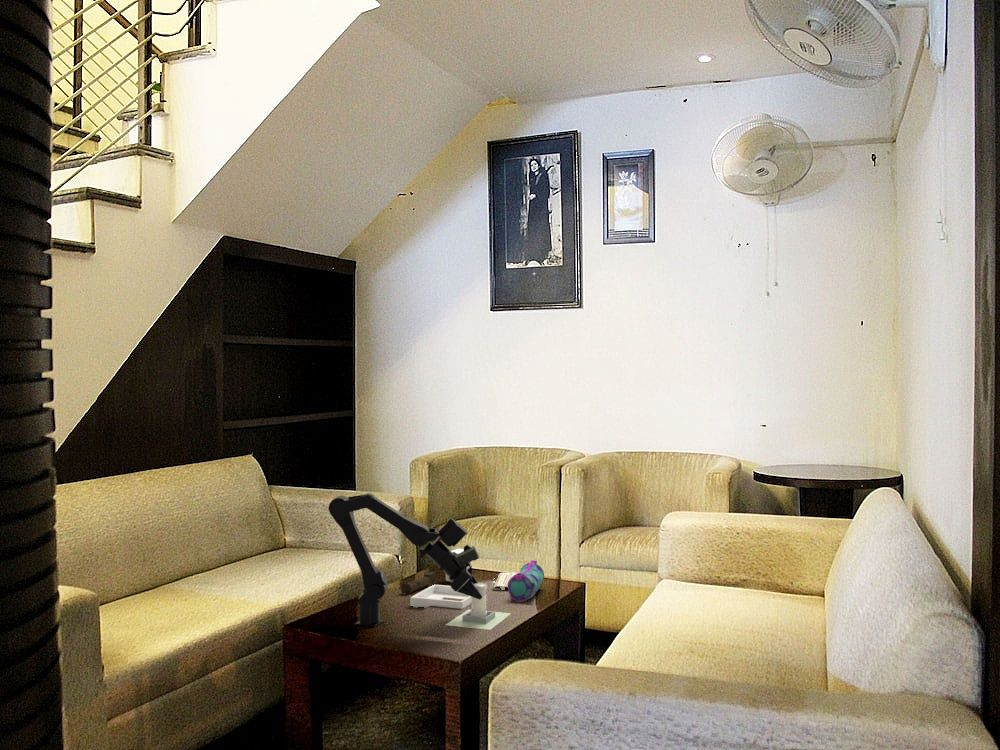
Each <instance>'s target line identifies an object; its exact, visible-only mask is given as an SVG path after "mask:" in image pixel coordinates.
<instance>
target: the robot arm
mask: <svg viewBox="0 0 1000 750" xmlns="http://www.w3.org/2000/svg"><path fill="white" fill-rule="evenodd" d="M365 509H367V510H369V511H370V512H372V513H374V514H375V515H376V516H378V517H379V518H382V519H383V520H385V522H387V523H389V524H390V525H391V526H393V527H395V528H396V529H398V530H399V531H400V532H401V534H403V536H404V537H405V538H406V539H407V540H408V541H409V542H411V543H412V545H414V546H416V547H420V548H419V559H423V558H424V557H425V556H427V557H428V558H429V559H430V560H431V561H433V563H434V564H435V565H437V567H438V570H440V571H441V572H444V573H445V575H446V574H447V575H448V576H449V579H450V580H451V581H450V586H451V588H452V589H453V590H454V591H455V592H456V591H457V592H460V593H463V594H466V595H469V596H471V597H474V598H477V599H479V600H480V599H481V598H482V595H481V594H480V593H479V591H478V590H477V588H476V587H475V586H474V584H477V583H479V582H478V580H477V579H476V577H475V576H474V574H473V565H472V562H473V561H477V560H478V559H480V558H479V557H480V555H479V554H478V553H479V552H478V551H477V549H476V547H475V546H473V545H472V546H471V545H469V544H465V545H464V546H463V549H464V551H463V552H461V553H459V554H456V553H455V552H451V551H452V550H450V549H449V548H448V547H455V546H457V545H458V544H459V543H460V541H462V539H463V538H464V537H466V536H467V535H468V532H467V531H468V530H467V529H466V528H465V527H464V526H463V525H462V524H460V523H459V522H457V521H456V520H455V519H453V517H450V518H449V519H448V520H447V521H446V523H444V525H442V527H440V528H434V527H433V528H432V527H429V526H428V525H427V524H424V523H423V522H419V521H417V520H415V519H412V518H409V517H407V516H405V515H403V514H402V513H401V512H399V511H397V510H396V509H394V508H393V507H391V506H390V505H389V504H387V503H386V502H384V501H382V500H381V499H379V498H378V497H376V496H375V495H374V494H373V493H371V492H367V493H365V494H359V495H358V494H357V495H354V496H353V495H352V496H346V495H339V496H338V495H337V496H336V497H334V498H333V499H332V500H331V501H330V502H329V504H328V512H329V515H331V517H332V519H333V520H334V522H335V523H336V524H337V525H338V527H340V528H341V530H342V531H343V533H344V536H345V538H346V540H347V543H348V545H349V547H350V549H351V552H352V554H353V556H354V558H355V561H356V563H357V565H358V568H359V570H360V572H361V576H362V583H363V588H364V589H363V590H362V592H361V594H360V595H359V597H358V599H357V602H358V605H359V621H357V622H354V626H361V625H362V627H370V626H371V627H372V628H373V627H377V626H379V625H380V624H381V623H384V622H385V619H381V618H380V617H381V616H380V614H381V611H380V607H381V606H380V599H382V598H383V597H384V595H385V593H386V592H387V588H388V581H389V579H388V577H387V576H386V575H385V571H384V568H383V567H381V568H378V567H377V566H376V565H375V563H374V562H373V560H372V559H373V558H372V557H371V555H370V552H369V551H368V548H367V546H366V543H365V542H364V540H363V537H362V535H361V532H360V530H359V528H358V526H357V524H356V520H355V514H354V512H356V511H360V510H365ZM468 566H470V567H469V568H467V567H468ZM371 627H370V628H371Z"/></svg>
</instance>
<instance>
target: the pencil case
mask: <svg viewBox="0 0 1000 750" xmlns="http://www.w3.org/2000/svg"><path fill="white" fill-rule="evenodd" d="M544 579H545V572H544V569H543V568H542V566H540V565H539V564H538V563H537V560H536V559H535V560H530V562H527V563H525V564H524V565H523V566H521V568H520V570H519V572H517V574H515V575H514V576H513V577H512V578H511V579H510V580H509V582H508V587H507V591H508V594H509V596H510V597H511V599H512V600H513V601H515V602H517V603H523V602H526V601H528V600H529V599H531V598H533V597H534V595H536V593H537V592H538V590H539V589H540V587H541V585H542V584H543V581H544Z"/></svg>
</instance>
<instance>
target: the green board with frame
mask: <svg viewBox="0 0 1000 750" xmlns="http://www.w3.org/2000/svg"><path fill="white" fill-rule="evenodd" d="M471 610H472V608H471V609H466V611H463V612H462V614H460V615H458V616H456V617H455V618H453V619H452V620H450V621H448V623H446V624H445V626H450V627H459V628H470V629H480V630H486V631H487V630H488V631H491V630H492V629H494V628H495V627H496V626H498V624H500V623H501V622H502V621H503V620H505V619H507V618H508V617H509V616H510V615H511V614H512V613H510V612H500V611H492V610H491V611H490V610H487V617H485V618H483V617H473V616H471Z"/></svg>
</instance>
